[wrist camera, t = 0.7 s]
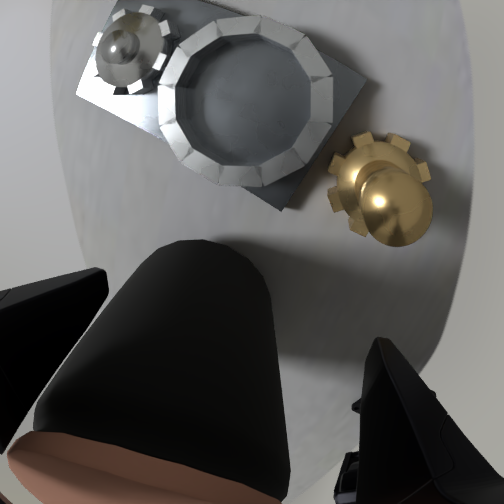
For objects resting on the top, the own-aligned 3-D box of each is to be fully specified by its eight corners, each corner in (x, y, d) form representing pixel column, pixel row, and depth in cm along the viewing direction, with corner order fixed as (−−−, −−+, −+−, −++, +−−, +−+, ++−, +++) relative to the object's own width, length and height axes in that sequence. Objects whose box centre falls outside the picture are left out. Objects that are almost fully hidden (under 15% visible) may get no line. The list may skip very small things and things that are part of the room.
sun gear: (197, 22, 15) (179, 11, 13) (152, 109, 18) (130, 110, 16) (126, 3, 15) (104, -6, 13) (90, 79, 18) (66, 79, 16)
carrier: (366, 79, 15) (372, 73, 13) (282, 209, 20) (275, 221, 18) (135, -15, 15) (117, -23, 13) (83, 96, 20) (62, 97, 18)
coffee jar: (114, 299, 23) (-2, 476, 7) (191, 203, 21) (28, 397, 4) (211, 372, 26) (186, 564, 9) (298, 296, 23) (360, 529, 6)
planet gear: (436, 160, 16) (485, 182, 10) (395, 242, 19) (419, 297, 13) (350, 114, 17) (362, 109, 10) (311, 203, 20) (302, 244, 13)
